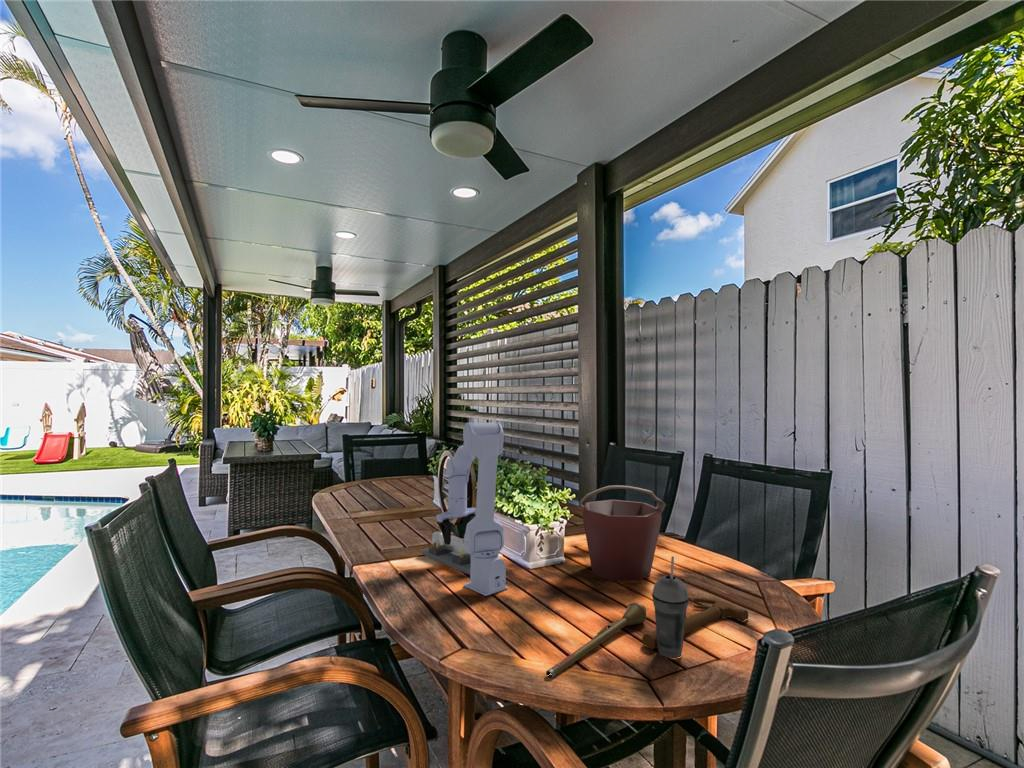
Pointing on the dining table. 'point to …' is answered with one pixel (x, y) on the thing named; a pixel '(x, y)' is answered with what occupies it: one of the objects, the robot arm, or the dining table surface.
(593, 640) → the panzerfaust rocket launcher
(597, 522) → the bucket
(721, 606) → the hammer
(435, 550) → the peg rack
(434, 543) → the grey bar
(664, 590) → the beverage cup
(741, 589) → the dining table surface
